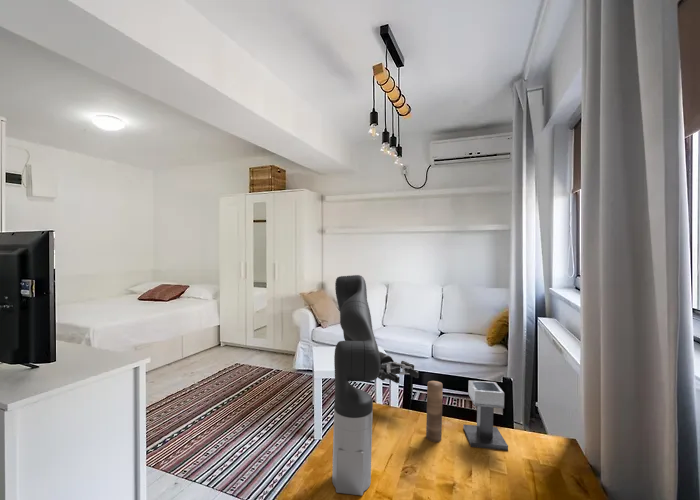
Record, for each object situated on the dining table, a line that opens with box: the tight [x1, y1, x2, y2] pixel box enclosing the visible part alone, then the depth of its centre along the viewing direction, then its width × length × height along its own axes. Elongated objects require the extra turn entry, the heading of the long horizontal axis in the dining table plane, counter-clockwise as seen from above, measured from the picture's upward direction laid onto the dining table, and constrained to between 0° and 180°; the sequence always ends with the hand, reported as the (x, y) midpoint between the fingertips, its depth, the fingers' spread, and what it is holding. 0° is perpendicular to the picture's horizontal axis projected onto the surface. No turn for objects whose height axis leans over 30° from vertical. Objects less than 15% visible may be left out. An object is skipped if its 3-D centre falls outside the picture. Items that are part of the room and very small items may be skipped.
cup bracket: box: [462, 380, 509, 451], centre depth 98 cm, size 10×10×16 cm
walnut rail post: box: [425, 380, 444, 443], centre depth 98 cm, size 4×4×16 cm
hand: (408, 377), depth 108 cm, fingers open, 8 cm apart
